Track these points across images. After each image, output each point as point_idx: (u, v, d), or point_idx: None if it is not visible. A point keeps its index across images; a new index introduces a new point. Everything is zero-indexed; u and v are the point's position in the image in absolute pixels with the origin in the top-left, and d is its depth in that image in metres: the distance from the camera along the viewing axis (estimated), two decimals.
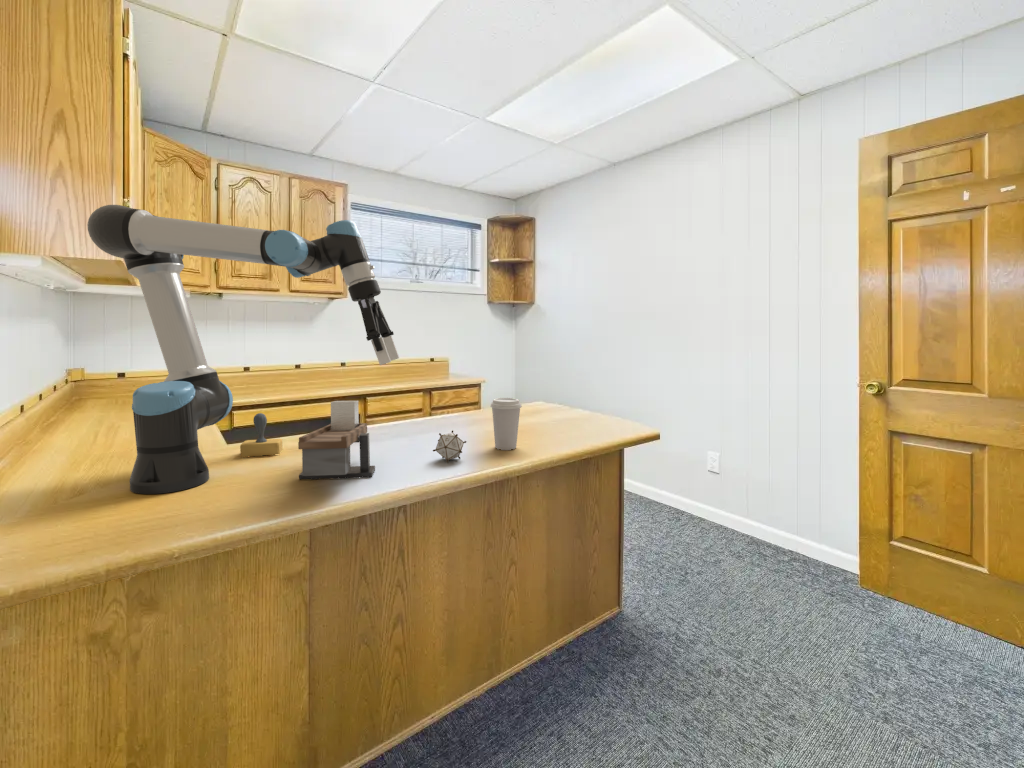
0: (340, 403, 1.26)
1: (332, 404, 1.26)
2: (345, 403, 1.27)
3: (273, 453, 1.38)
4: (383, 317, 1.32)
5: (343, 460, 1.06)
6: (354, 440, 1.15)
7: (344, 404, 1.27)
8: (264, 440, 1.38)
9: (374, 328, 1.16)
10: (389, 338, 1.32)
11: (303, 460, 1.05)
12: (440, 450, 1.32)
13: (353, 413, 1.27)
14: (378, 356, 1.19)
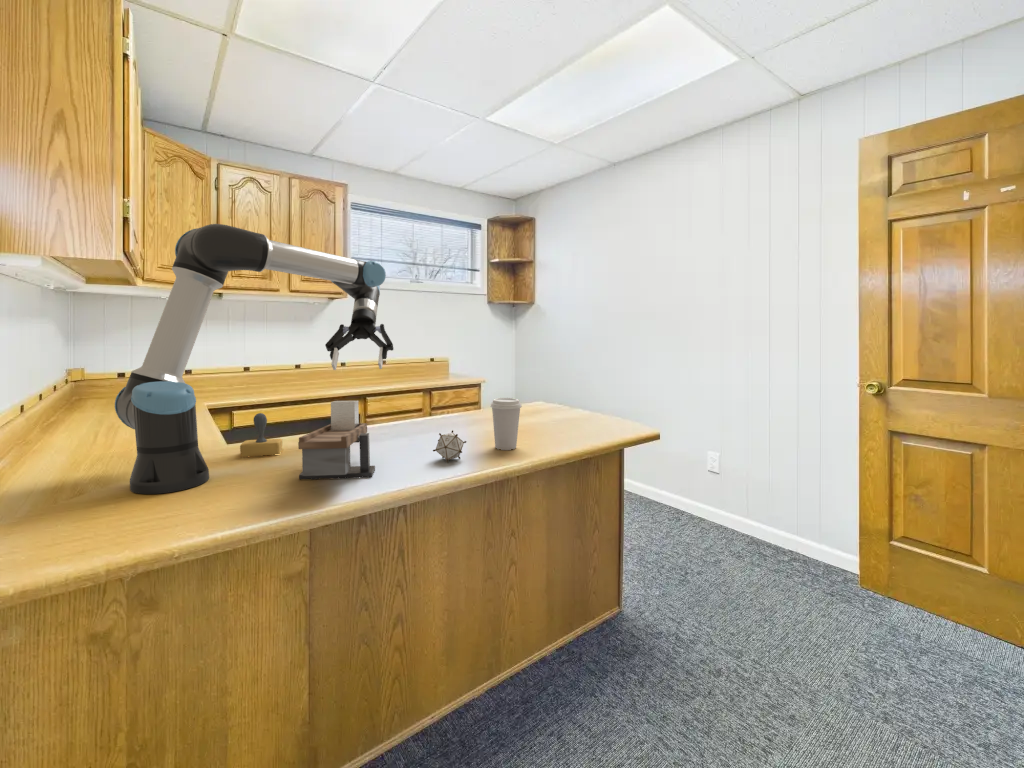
0: (340, 403, 1.26)
1: (332, 404, 1.26)
2: (345, 403, 1.27)
3: (273, 453, 1.38)
4: (339, 340, 1.52)
5: (343, 460, 1.06)
6: (354, 440, 1.15)
7: (344, 404, 1.27)
8: (264, 440, 1.38)
9: None
10: (338, 353, 1.49)
11: (303, 460, 1.05)
12: (440, 450, 1.32)
13: (353, 413, 1.27)
14: (381, 358, 1.46)
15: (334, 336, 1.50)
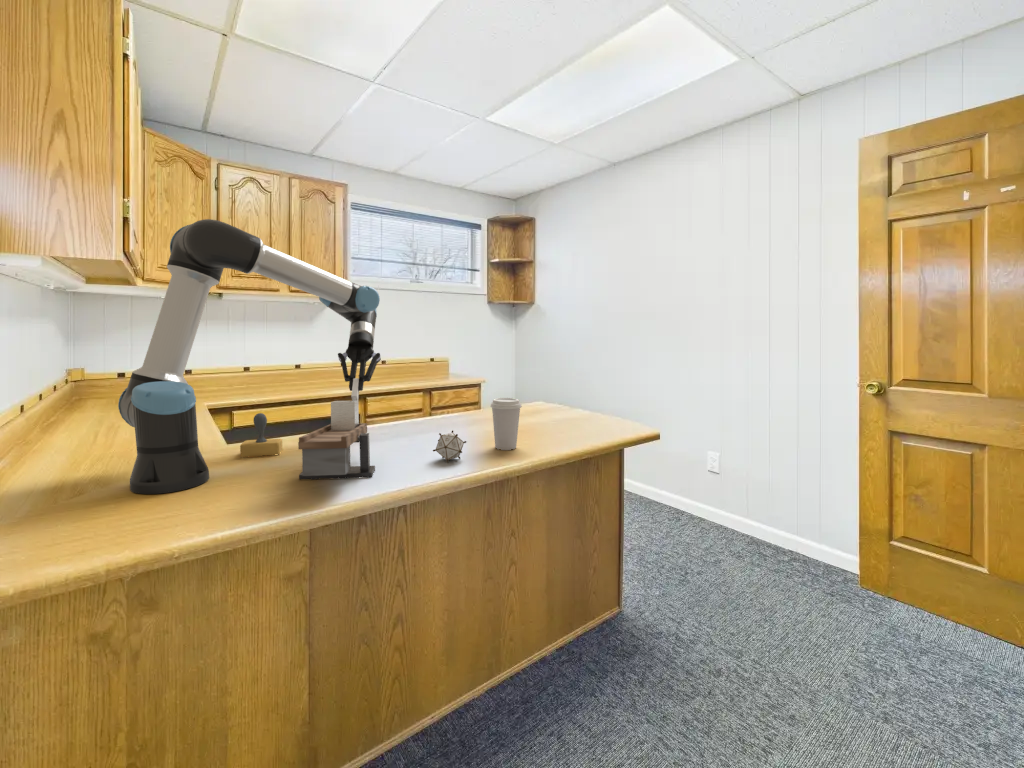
0: (340, 403, 1.26)
1: (332, 404, 1.26)
2: (345, 403, 1.27)
3: (273, 453, 1.38)
4: (346, 367, 1.48)
5: (343, 460, 1.06)
6: (354, 440, 1.15)
7: (344, 404, 1.27)
8: (264, 440, 1.38)
9: (370, 377, 1.47)
10: None
11: (303, 460, 1.05)
12: (440, 450, 1.32)
13: (353, 413, 1.27)
14: (357, 390, 1.41)
15: (343, 365, 1.46)
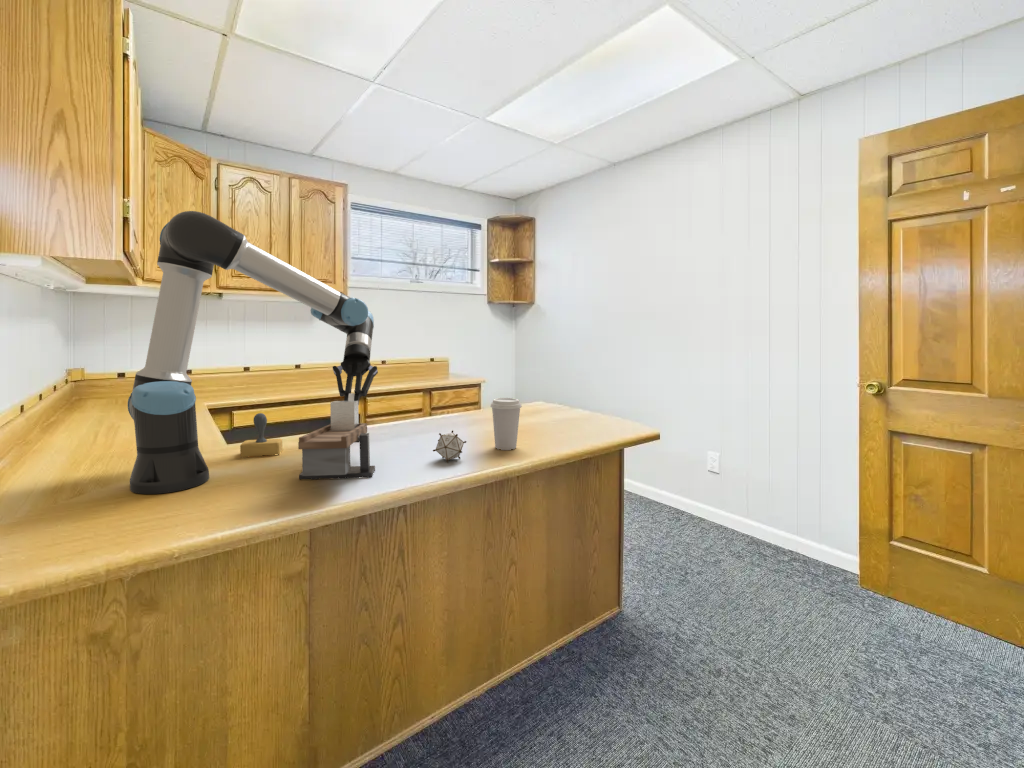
0: (340, 403, 1.26)
1: (332, 404, 1.26)
2: (345, 403, 1.26)
3: (273, 453, 1.38)
4: None
5: (343, 460, 1.06)
6: (354, 440, 1.15)
7: (344, 404, 1.26)
8: (264, 440, 1.38)
9: (367, 392, 1.40)
10: None
11: (303, 460, 1.05)
12: (440, 450, 1.32)
13: (353, 413, 1.26)
14: None
15: (338, 379, 1.39)
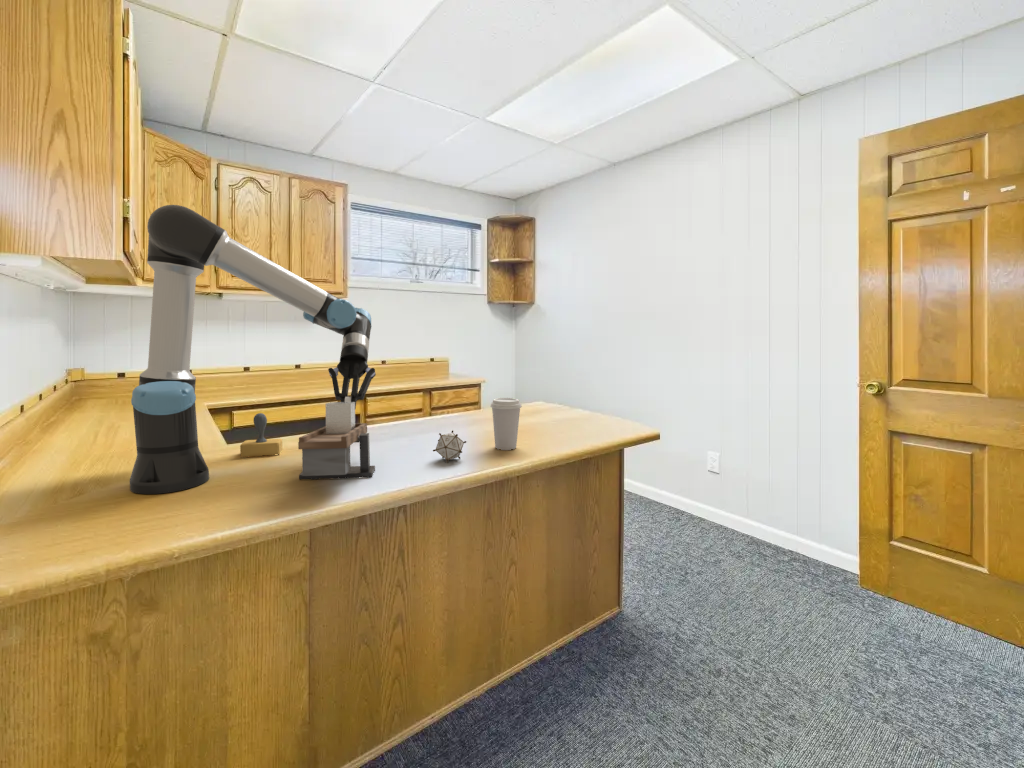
0: (335, 405, 1.20)
1: (327, 406, 1.19)
2: (341, 405, 1.20)
3: (273, 453, 1.38)
4: None
5: (343, 460, 1.06)
6: (354, 440, 1.15)
7: (339, 406, 1.20)
8: (264, 440, 1.38)
9: (364, 395, 1.34)
10: None
11: (303, 460, 1.05)
12: (440, 450, 1.32)
13: (349, 415, 1.20)
14: None
15: (334, 382, 1.32)
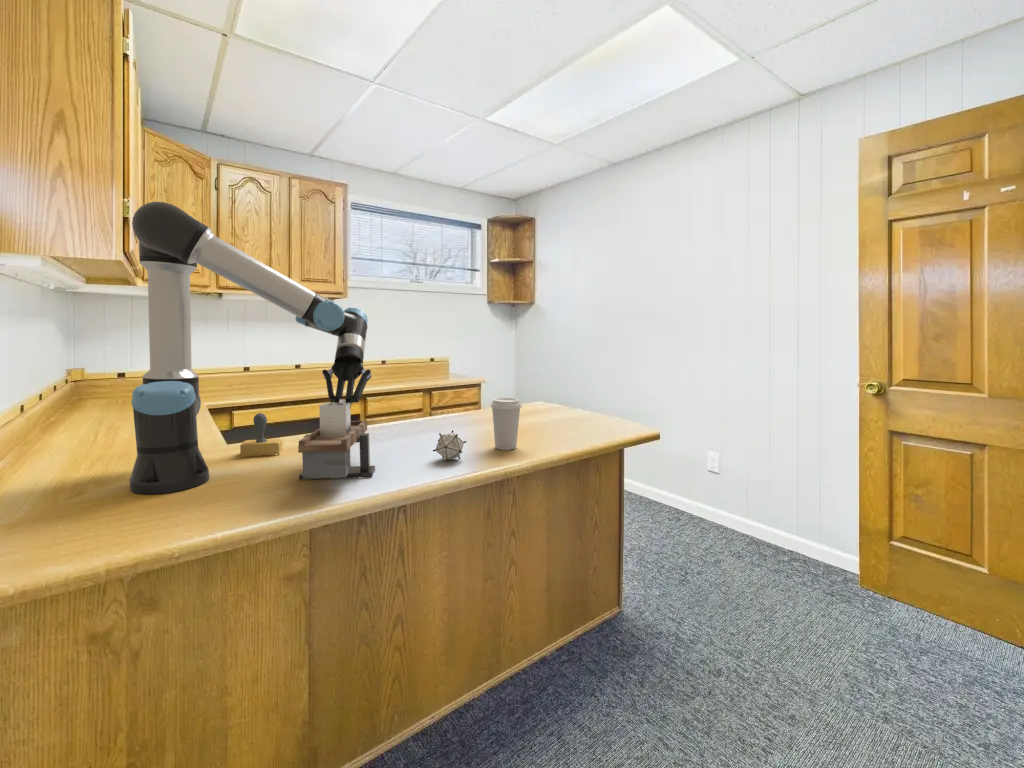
0: (330, 407, 1.15)
1: (321, 408, 1.15)
2: (335, 407, 1.15)
3: (273, 453, 1.38)
4: (332, 386, 1.30)
5: (343, 463, 1.07)
6: (354, 441, 1.15)
7: (334, 408, 1.15)
8: (264, 440, 1.38)
9: (359, 398, 1.29)
10: None
11: (303, 463, 1.05)
12: (440, 450, 1.32)
13: (344, 418, 1.16)
14: None
15: (328, 384, 1.28)
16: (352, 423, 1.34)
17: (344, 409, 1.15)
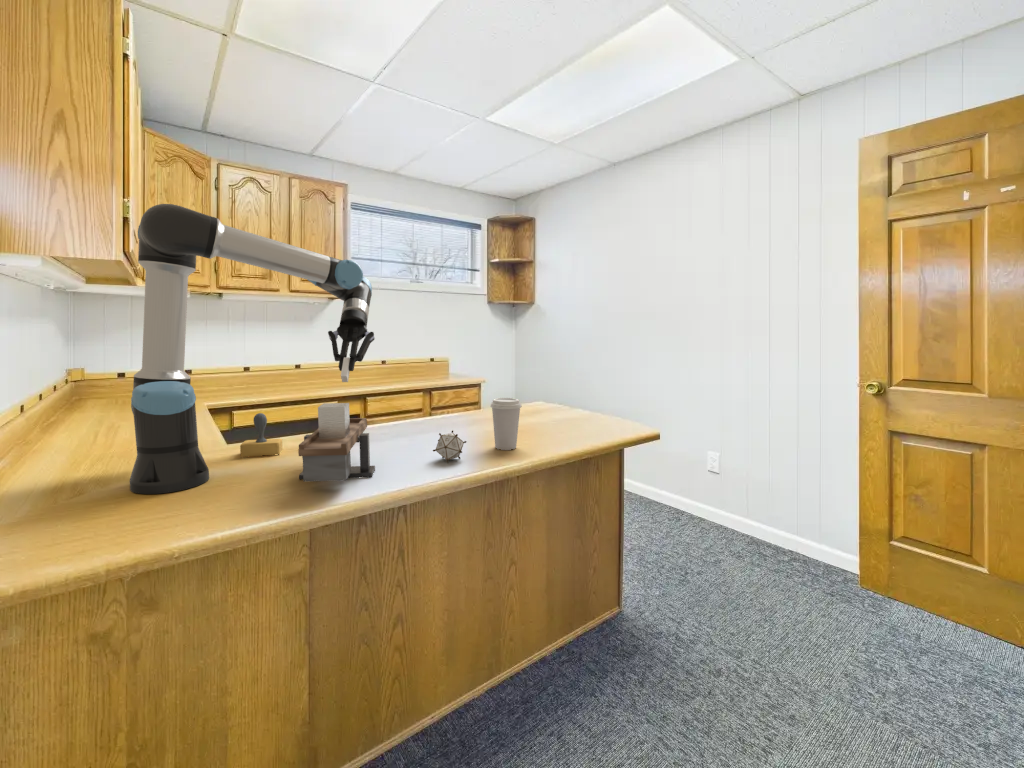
0: (328, 408, 1.14)
1: (319, 410, 1.13)
2: (334, 408, 1.14)
3: (273, 453, 1.38)
4: None
5: (343, 466, 1.07)
6: (354, 442, 1.15)
7: (333, 410, 1.14)
8: (264, 440, 1.38)
9: (362, 357, 1.36)
10: None
11: (303, 466, 1.06)
12: (440, 450, 1.32)
13: (343, 419, 1.15)
14: (347, 370, 1.30)
15: (334, 344, 1.35)
16: (352, 420, 1.34)
17: (343, 411, 1.14)
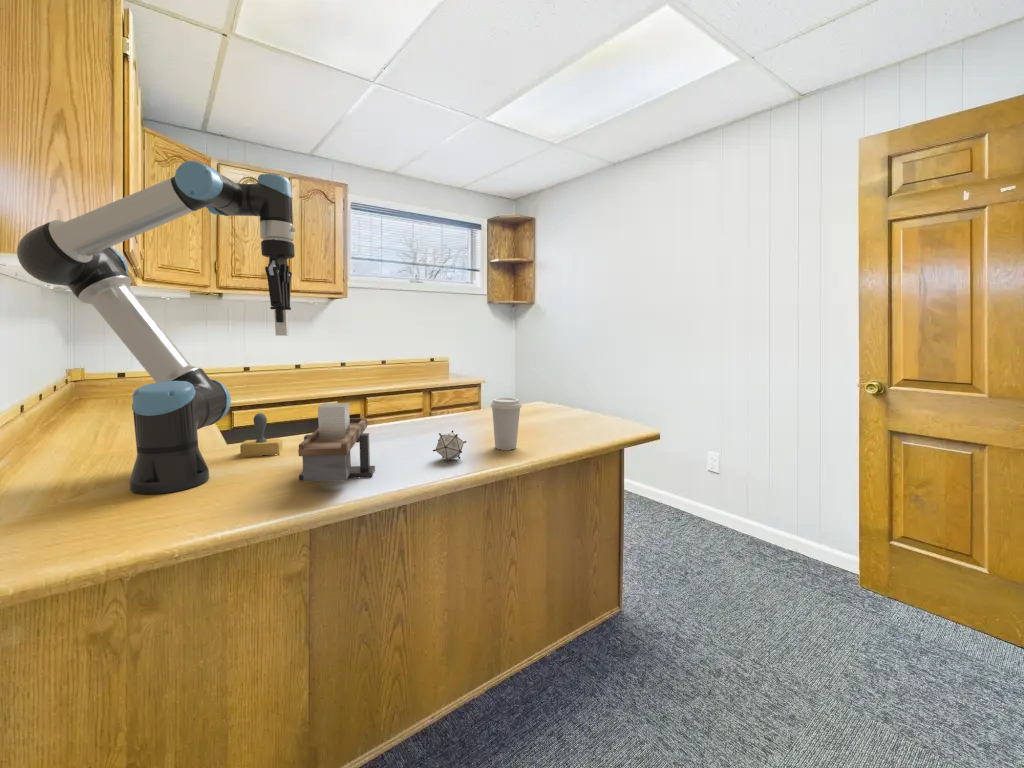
0: (328, 408, 1.14)
1: (319, 410, 1.13)
2: (334, 408, 1.14)
3: (273, 453, 1.38)
4: (288, 286, 1.26)
5: (343, 466, 1.07)
6: (354, 442, 1.15)
7: (333, 410, 1.14)
8: (264, 440, 1.38)
9: (279, 301, 1.19)
10: None
11: (304, 466, 1.06)
12: (440, 450, 1.32)
13: (343, 419, 1.15)
14: (276, 326, 1.23)
15: None
16: (352, 420, 1.34)
17: (343, 411, 1.14)
